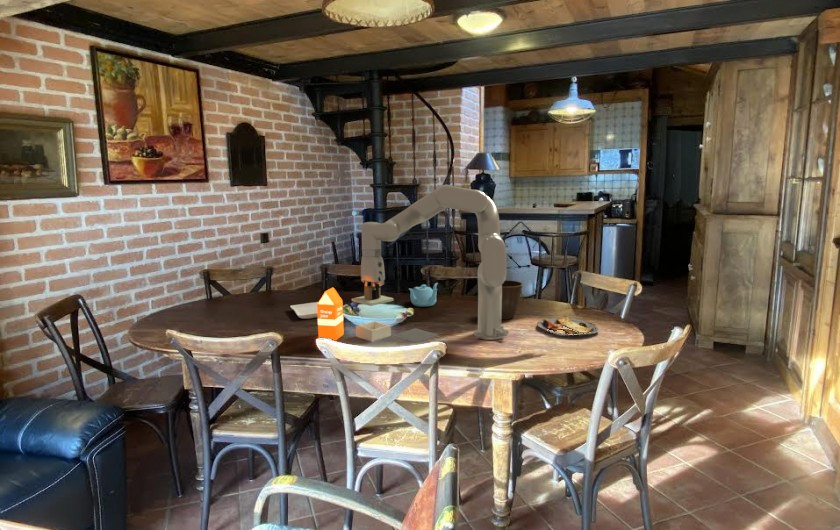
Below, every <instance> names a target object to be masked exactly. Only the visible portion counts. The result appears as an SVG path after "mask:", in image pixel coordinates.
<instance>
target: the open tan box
mask: <svg viewBox="0 0 840 530" xmlns="http://www.w3.org/2000/svg"><path fill="white" fill-rule="evenodd" d="M355 334H356V338H358V339H361V340H364V341H368V342H371V343H374V342H378V341H381V340H384V339H388V338H391V337H392V336H391V335H392V325H391V324H387V323H384V322H383V323H382V322H380V321H377V320H373V321H370V322H365V323H362V324H358V325H355Z"/></svg>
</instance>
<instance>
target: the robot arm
mask: <svg viewBox="0 0 840 530" xmlns="http://www.w3.org/2000/svg"><path fill="white" fill-rule="evenodd" d="M446 209H453V210H457V211H463V212H468V213H474V214H475V216H476V219H477V229H478V230H477V233H478V235H477V236H478V237H477V238H478V240H477V241H478V243H477V247H478V250H479V252H480V256H481V257H480V258H481V262H480V264H479V265H478V268H477V290H478V291H477V296H478V298H477V330H474V332H473V336H474V337H475V338H477V339H480V340H487V341H495V340H501V339H504V338H505V337H507V336H508V334H509V330H508V329H504V328H505V327H504V325H503V324H502V319H501V313H502V284H503V283H504V281H505V280H507V249H506V248H507V247H506V244H505V241H504V240H503V237H501V228H500V227H501V226H500V216H499V215H500V214H499V212H498V208H497V206H496V204H495V202H494V201H493V200H492V199H491V198H490V196H488V195H487V193H485V192H483V191H482V190H479V189H471V188H465V187H459V186H455V185H451V184H442V185H441V186H439V187H437V188H435V189H434V190H432V191H431V192H429V193H428V194H426V195H424V196H423V197H422V198H420V199H418V200H417V201H415V202H413V203H412V204H411V205H409V206H407V208H405V209H403V210H402V211H401V212H399V213H397V214H396V215H395V216H392V217H391V218H390V219H388V220H387V221H385V222H382V223H379V222H377V221H376V222H375V221H367V222H363V223H362V224H361V253H362V254H361V255H362V256H361V263H360V280H361V283H363V285H364V287H366V286H371V285H373V290H372V299H373V300H375V299H379V289H380V288H381V287H382V286H383V285H385V280H386V274H385V264H384V259H383V257H382V241H383V242H394V241H396V240H397V239H398V238H399V237H400V236H401V234H403V233H405V232H406V231H407V230H410V229H411V228H412V227H414V226H416V225H420V224H422V223H426V222H427V221H429V220H430V219H433V218H434V217H435V216H436V215H438V214H439V213H441V212H443V211H444V210H446Z"/></svg>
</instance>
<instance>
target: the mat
mask: <svg viewBox="0 0 840 530" xmlns="http://www.w3.org/2000/svg"><path fill="white" fill-rule="evenodd" d="M436 336H439V334H437V333H435V332H431V331H427V330H422V329H420V328H416V327H414V328H411V329H408V330H405V331H402V332H398V333H395V334H391V337H395V338H398V339H402V340H405V341H409V342H412V343H419V342H421V341H425V340H428V339H431V338H434V337H436Z"/></svg>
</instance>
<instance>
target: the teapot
mask: <svg viewBox="0 0 840 530" xmlns="http://www.w3.org/2000/svg"><path fill="white" fill-rule="evenodd" d="M438 284H439V283H438V282H435V283H434V285H433V287H430V286H427V284H421V285H420V286H415V287H413V288H409V287H408V290H409V291H410V295H409V296H410V302H411V304H412V305H413V306H415V307H425V308H426V307H431V306H434V305H435V304H436V303H437V293H438V292H437V291H438V288H437V286H438Z"/></svg>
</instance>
